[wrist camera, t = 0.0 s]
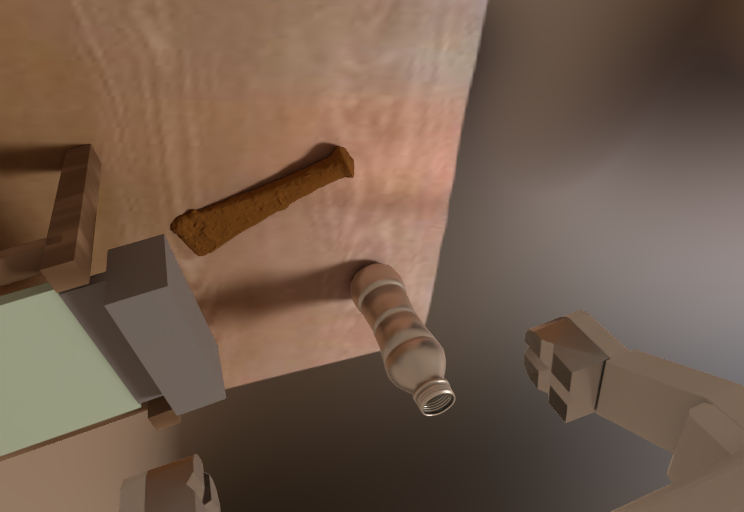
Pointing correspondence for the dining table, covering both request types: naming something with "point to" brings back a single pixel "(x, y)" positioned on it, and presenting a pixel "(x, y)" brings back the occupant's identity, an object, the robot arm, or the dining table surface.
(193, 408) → the trapdoor
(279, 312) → the dining table surface
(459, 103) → the dining table surface
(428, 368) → the plastic bottle
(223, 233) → the primitive tool
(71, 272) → the stand
